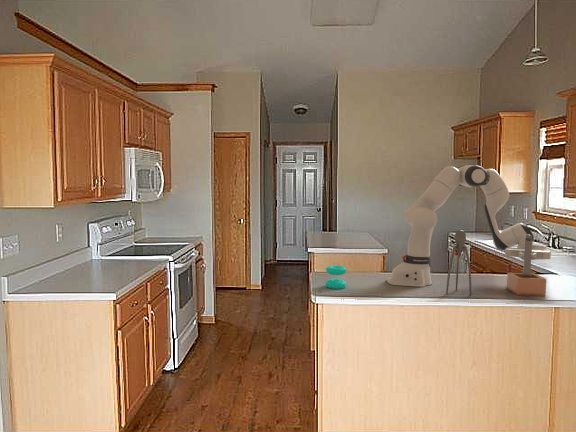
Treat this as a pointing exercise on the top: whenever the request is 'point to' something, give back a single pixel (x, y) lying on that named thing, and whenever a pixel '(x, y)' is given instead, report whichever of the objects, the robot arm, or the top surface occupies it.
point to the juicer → (460, 242)
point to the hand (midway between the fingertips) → (527, 255)
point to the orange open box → (526, 284)
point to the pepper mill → (527, 256)
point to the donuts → (336, 282)
